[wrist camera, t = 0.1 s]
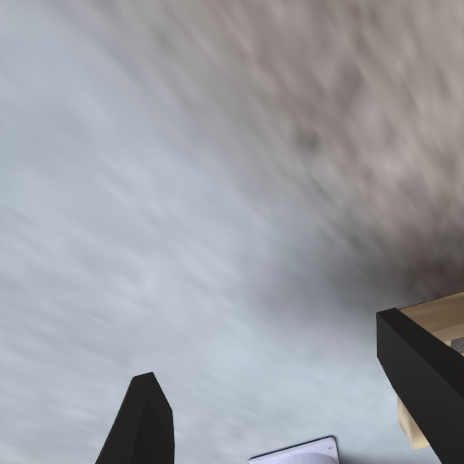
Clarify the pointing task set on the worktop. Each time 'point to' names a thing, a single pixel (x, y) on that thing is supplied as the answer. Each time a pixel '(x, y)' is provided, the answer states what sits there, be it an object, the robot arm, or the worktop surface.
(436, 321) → the socket board
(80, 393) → the worktop surface
